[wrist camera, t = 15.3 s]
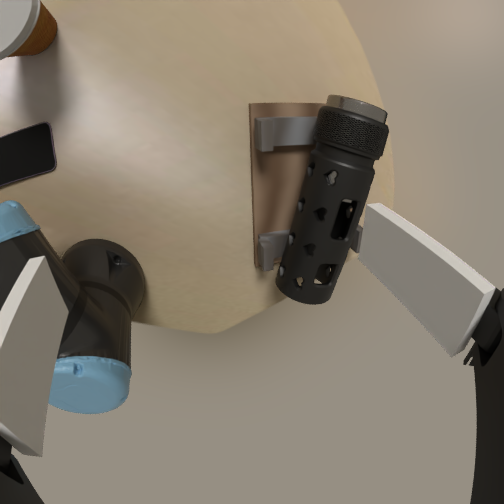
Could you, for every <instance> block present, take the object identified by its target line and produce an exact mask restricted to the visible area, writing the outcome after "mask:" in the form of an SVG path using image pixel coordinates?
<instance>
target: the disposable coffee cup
mask: <svg viewBox="0 0 504 504" xmlns="http://www.w3.org/2000/svg"><path fill="white" fill-rule="evenodd" d="M56 32H57V22H56V20H55V19H54V17H53V16H52V15H51V14H50V13H49V11H48V10H47V9H46V7H45V6H44V5H43V4H42V2H41V1H40V0H0V60H2V59H3V58H5V57H14V56H24V55H36V54H39V53H40V52H42V51H44V50H45V49H46V48H47V47H48V46H49V45H50V44H51V43H52V41H53V40H54V38H55V35H56Z"/></svg>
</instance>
